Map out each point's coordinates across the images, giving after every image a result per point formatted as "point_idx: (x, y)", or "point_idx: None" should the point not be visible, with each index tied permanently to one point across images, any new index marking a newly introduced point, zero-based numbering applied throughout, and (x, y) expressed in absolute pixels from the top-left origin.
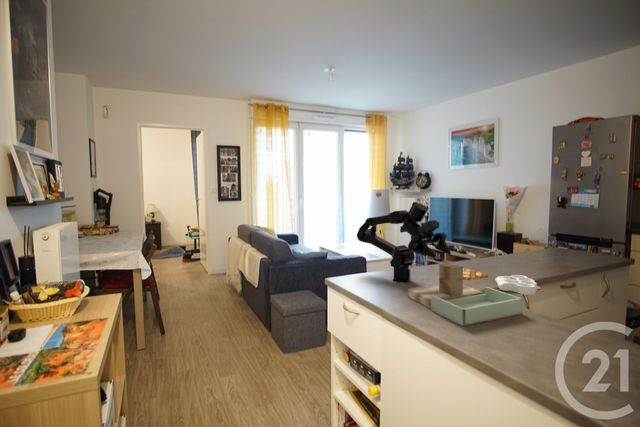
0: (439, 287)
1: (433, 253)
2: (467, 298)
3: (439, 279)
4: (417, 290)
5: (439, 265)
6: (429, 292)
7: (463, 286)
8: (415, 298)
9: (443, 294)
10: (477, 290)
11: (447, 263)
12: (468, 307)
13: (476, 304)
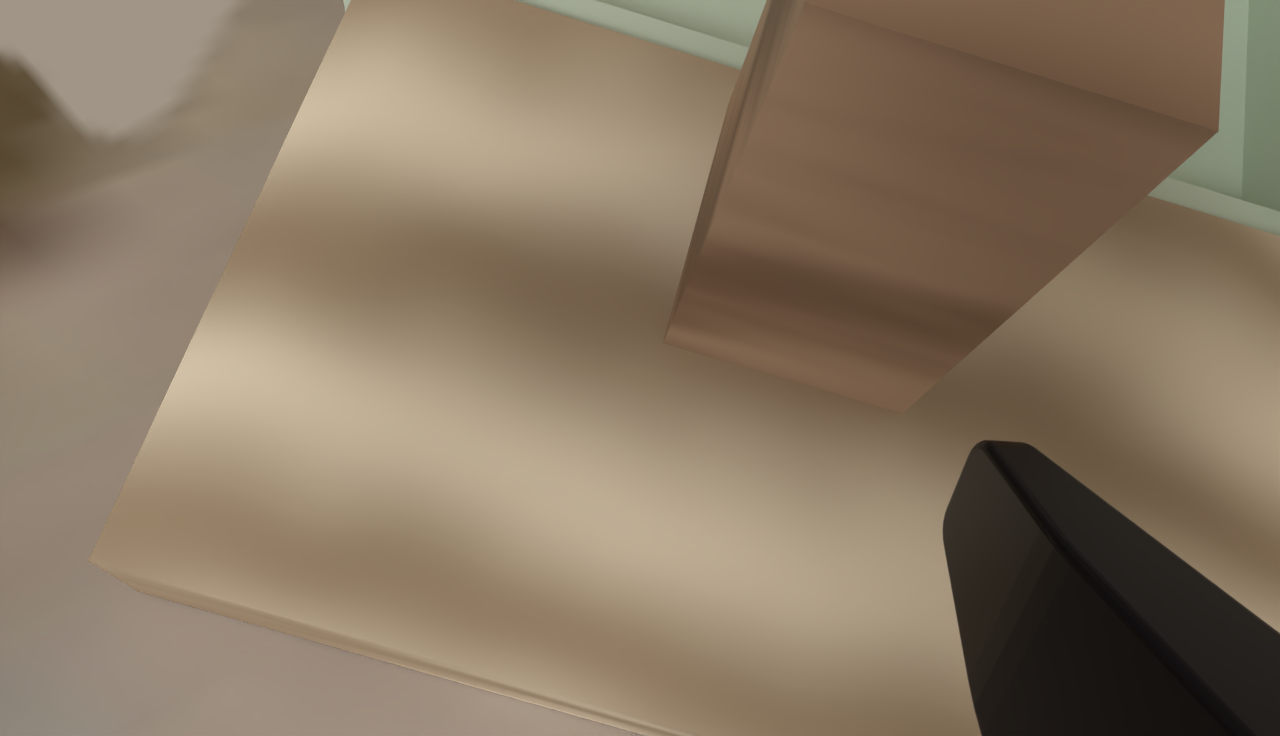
0: (933, 380)
1: (1101, 512)
2: (733, 51)
3: (1003, 318)
4: None
5: (1194, 149)
6: None
7: (292, 281)
8: None
9: None
10: (349, 40)
11: (945, 24)
12: None
13: (666, 8)
